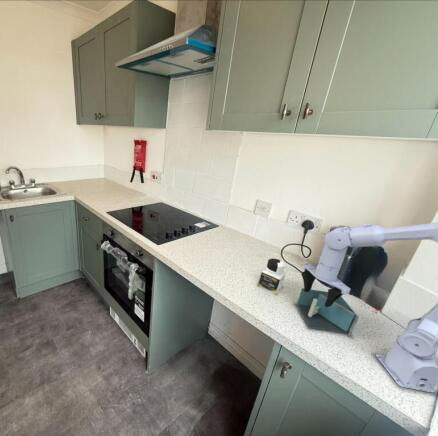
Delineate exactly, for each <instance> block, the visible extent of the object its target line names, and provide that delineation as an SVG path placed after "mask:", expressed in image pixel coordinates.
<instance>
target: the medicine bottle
mask: <svg viewBox="0 0 438 436" xmlns="http://www.w3.org/2000/svg"><path fill="white" fill-rule="evenodd" d="M285 267H286V264H285V262H284V261H283V260H280V259H278V258H269V259H268V260H267V264H266V267H264V269H262V271H261V273H260V277H259V280H258V286H259V287H261V288H263V289H265V290H267V291H269V292H271V293H273V294H277V293H278V292H279V290H280V289H281V288H282V287H283V284H284V281H285V278H286V274H287V272H286V271H284V270H285Z"/></svg>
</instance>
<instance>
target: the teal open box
mask: <svg viewBox="0 0 438 436" xmlns="http://www.w3.org/2000/svg"><path fill="white" fill-rule="evenodd" d="M319 294H322V295H324V296H325V297H328V291H324V290H318V289H312V288H311V290H310V291H309V292H304V287H302V288H301V289H300V292H299V295H298V299H297V301H296V304H295V306H296V307H297V310H298V311H299V313H300V316H301V317H302V319H303V321H304V322H305V324H306V326H307V328H308V329H311V330H318V331H324V332H329V333H336V334H342V335H347V337H351V335H352V333H353V331H354V329H355V326H356V324H357V323H358V320H359V317H360V315H358V314H357V312H356V311H354V310H353V308H352V307H351V306H350V305H349V303H348V302H347V301H346V300H345V299H344V297H343V295H342V296H340V297H339V298H338V299H337V300H336V301H335V302H336V303H337V304H339V305H341V306H343V307H344V308H346V309H348V310H349V311H351V312H353V313H355V315H354V317H353V320H352V322H351V324H350V326H349V328H348V330H347V332H346V331H344V330H343V329H341V328H340V327H338V326H337V325H335V324H334V323H332V322H330V321H329V320H327V319H326V318H324V317H323V316H321V315H320V314H318V313H316V314H314V315H312V317H309V316H308V313H309V310H310V308H311V305H312V302H313V300H314V299H317V300H318V297H319Z"/></svg>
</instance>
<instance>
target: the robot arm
mask: <svg viewBox="0 0 438 436" xmlns="http://www.w3.org/2000/svg"><path fill="white" fill-rule="evenodd" d="M323 240H324V246H323V248H322V251H321V254H320V257H319V259H318V263H317V266H313V265H311V264H309V263H304V264H302V267H301V270H302V272H301V274H300V276H301V277H302V281H303V288H304V292H309V291H310V290H311V289H312V288H313V284H314V282H315V280H316V279H317V280H319V281H321V282H324V283H326V284H327V285H329V286H330V287H332V288H328V290H327V292H328V297H327V300H326V303H325V306H326V307H330V306H331V305H332V304H333V303H334V302H335V301H336V300H337V299H338V298H339V297H340V296H342V297H343V296H345V295H346V296H347V295H350V293H351V288H350V287H349V286H347V285H346V284H345V283H344V282H343V281H341V279H339V278H338V275H339V272H340V270H341V267H342V265H343V263H344V259H345V258H346V254H347V251H348V248H349V247H350V248H363V247H364V248H365V247H366V248H367V247H380V246H383V245H384V244H385V243H386V242H389V241H393V242H394V241H424V240H425V241H426V240H429V241H433V242H435V243H437V244H438V221H437V222H431V223H430V222H429V223H422V224H413V225H412V224H411V225H405V226H397V227H389V228H384V227H382V226H380V225H378V224H373V225H372V223H365V224H363V225H362V226H354V227H350V226H349V225H348V226H344V227H337V228H334V229H333V230H330V231H329V232H327V233H326V234H325V235H324V238H323ZM437 353H438V302H436V304H434V306H433V307H432V308H431V309H429V311H427V312H425V313H424V314H423V315H421V316H420V317H417V318H413V319H410V320H409V321H408V323H407V326H406V327H405V329H404V331H403V332H402V333H401V334H399V335H397V336H396V338H395V340H394V342H393V343H392V345H391V346H390V349H389V351H388V352H387V354H386V355H385V354H379V353H377V354H375V357H376V359H378V361H379V362H380V363H381V365H382V366H383V367H384V368H385V369H386V371H387V373H389V375H390V376H391V378H392V379H393V380H394V381H395V382H396V384H397V385H398V386H399V387H401V388H406V389H412V390H415V391H416V390H417V391H422V392H427V393H432V394H433V393H434V394H435V390H434V388H435V387H436V385H437V383H438V364H437V361H436V355H437Z"/></svg>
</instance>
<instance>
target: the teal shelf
mask: <svg viewBox="0 0 438 436" xmlns="http://www.w3.org/2000/svg"><path fill="white" fill-rule="evenodd" d="M326 300H327V297H325V296H324V295H322V294H319V297H318V300H317V299H314V300H313V302H312V305H311V308H310V310H309V313H308V316H309V317H312V315H314V314H316V313H318V314H320V315H321V316H323V317H324V318H326V319H327V320H329V321H330V322H332V323H334V324H335V325H337V326H338V327H340V328H341V329H343V330H344V331H346V332H347V330H348V328H349V326H350V324H351V322H352V320H353V317H354V315H355V313H356V312H355V313H353V312H351V311H349V310H348V309H346V308H344V307H343V306H341V305H339V304H337V303H336V302H334V303H333V304H332V305H331V306H330V307H326V306H325V303H326Z"/></svg>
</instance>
